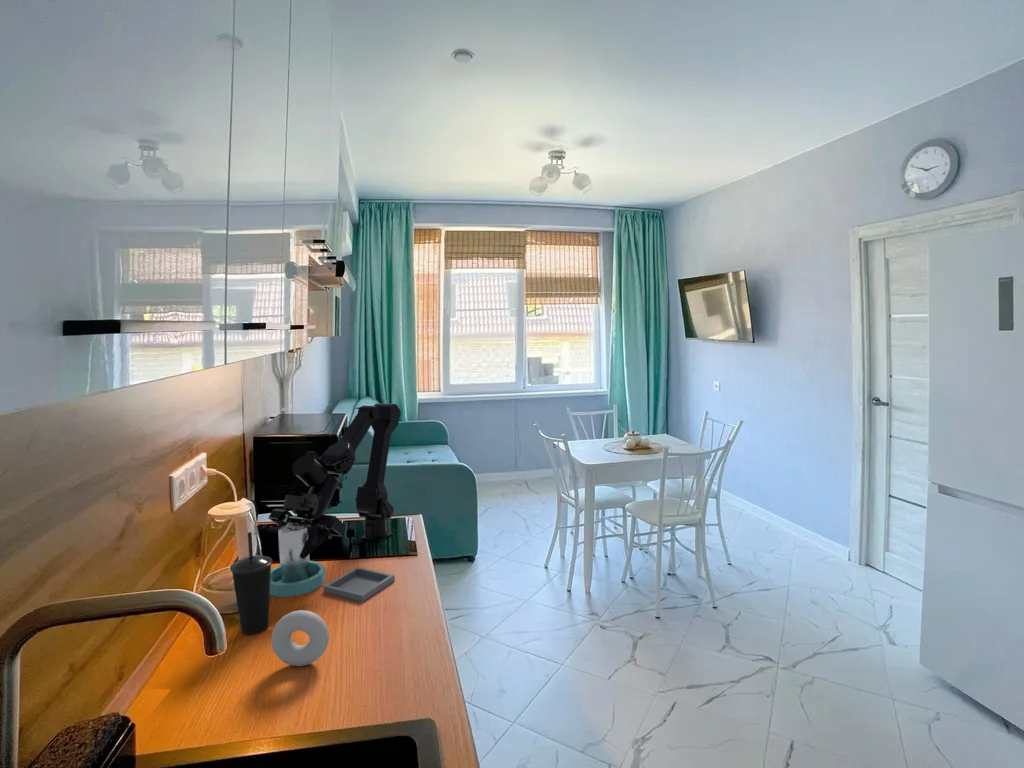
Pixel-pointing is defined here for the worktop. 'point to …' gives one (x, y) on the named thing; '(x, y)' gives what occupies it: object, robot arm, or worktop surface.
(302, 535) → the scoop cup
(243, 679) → the worktop surface
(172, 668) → the worktop surface
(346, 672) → the worktop surface
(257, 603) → the drinking cup
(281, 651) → the donut
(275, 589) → the bowl
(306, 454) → the robot arm
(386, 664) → the worktop surface
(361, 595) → the parts tray
